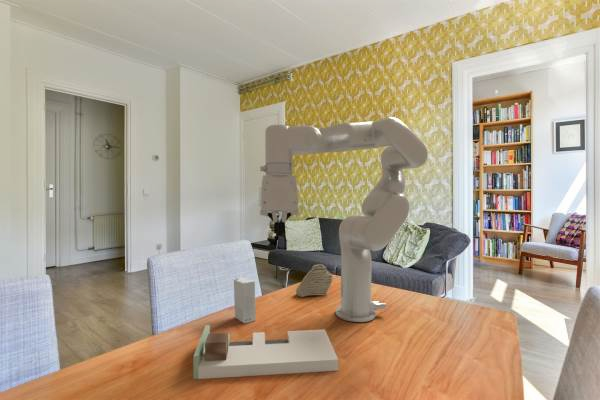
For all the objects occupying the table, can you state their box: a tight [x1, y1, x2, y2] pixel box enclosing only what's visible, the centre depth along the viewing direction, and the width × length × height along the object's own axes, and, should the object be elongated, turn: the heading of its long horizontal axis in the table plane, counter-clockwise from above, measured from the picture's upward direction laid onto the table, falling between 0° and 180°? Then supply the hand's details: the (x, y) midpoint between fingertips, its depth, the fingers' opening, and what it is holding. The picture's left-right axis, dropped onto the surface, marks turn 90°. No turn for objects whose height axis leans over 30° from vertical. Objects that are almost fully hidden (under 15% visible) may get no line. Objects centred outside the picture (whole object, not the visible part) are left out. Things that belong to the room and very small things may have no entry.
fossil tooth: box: [295, 264, 334, 298], centre depth 121 cm, size 12×6×15 cm
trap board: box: [192, 324, 339, 380], centre depth 76 cm, size 31×15×5 cm, turn 97°
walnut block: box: [205, 332, 229, 361], centre depth 72 cm, size 4×4×4 cm
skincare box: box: [233, 276, 257, 324], centre depth 97 cm, size 6×4×12 cm
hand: (279, 235), depth 89 cm, fingers closed
